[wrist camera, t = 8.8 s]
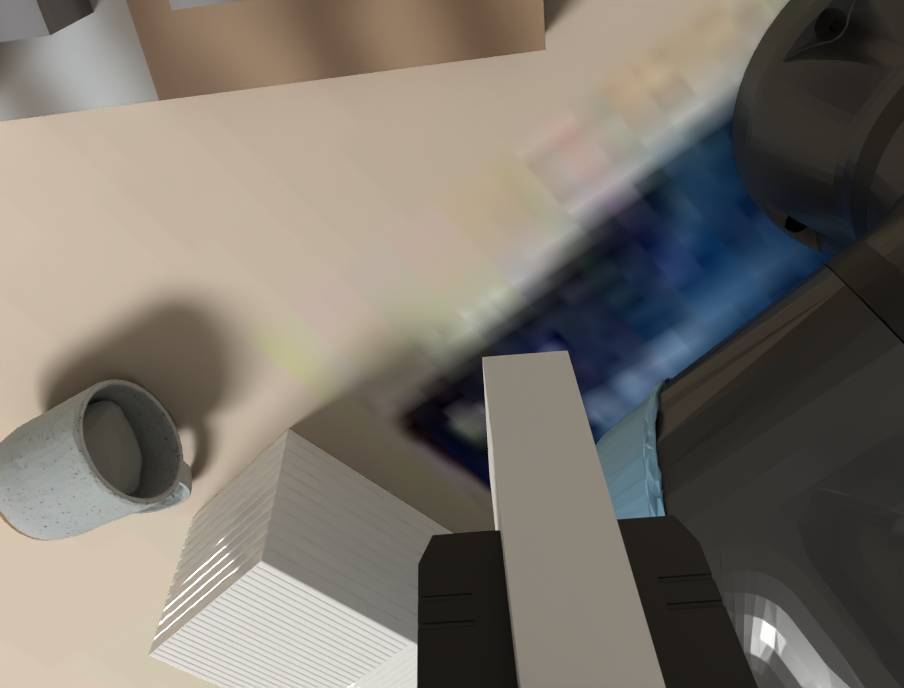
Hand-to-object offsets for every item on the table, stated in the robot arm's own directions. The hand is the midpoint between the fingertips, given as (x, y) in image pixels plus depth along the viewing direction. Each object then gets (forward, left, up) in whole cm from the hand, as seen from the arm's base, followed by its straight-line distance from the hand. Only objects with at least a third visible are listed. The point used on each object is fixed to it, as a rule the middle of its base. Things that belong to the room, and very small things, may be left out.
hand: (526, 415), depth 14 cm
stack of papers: (+7, +36, -27) cm, 46 cm away
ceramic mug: (+23, +20, -26) cm, 40 cm away
